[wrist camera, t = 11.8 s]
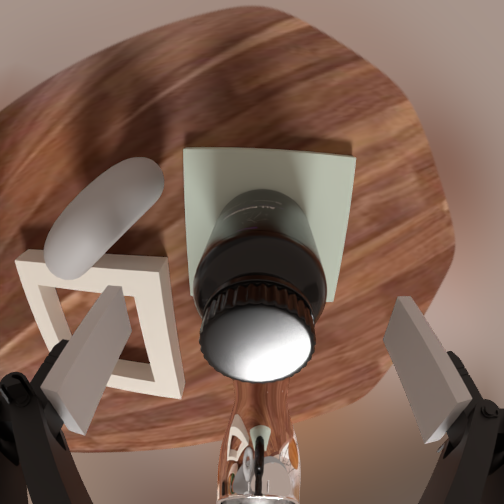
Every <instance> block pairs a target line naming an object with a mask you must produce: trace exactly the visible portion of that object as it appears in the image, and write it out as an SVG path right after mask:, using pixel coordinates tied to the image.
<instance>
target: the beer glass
mask: <svg viewBox="0 0 504 504" xmlns="http://www.w3.org/2000/svg"><path fill="white" fill-rule="evenodd" d="M289 382H290V377H289V378H286V379H284V380H282V381H276V382H274V383H265V384H260V383H255V384H252V383H248V382H241V381H239V380H233V386H234V395H235V397H234V406H233V410H232V413H231V416H230V419H229V422H228V425H227V428H226V432H225V435H224V438H223V442H222V446H221V449H220V455H219V462H218V474H217V475H218V476H217V504H299V494H300V457H299V449H298V444H297V440H296V435H295V432H294V428H293V424H292V421H291V417H290V414H289V410H288V403H287V394H288V388H289Z"/></svg>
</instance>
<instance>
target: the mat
mask: <svg viewBox="0 0 504 504" xmlns="http://www.w3.org/2000/svg"><path fill="white" fill-rule="evenodd" d="M183 162H184V197H185V221H186V239H187V255H188V269H189V282H190V294H191V296H193V281H194V276H195V273H196V269H197V267H198V264H199V262H200V259H201V257H202V254H203V252H204V250H205V247H206V245H207V242H208V240H209V238H210V235H211V233H212V231H213V228H214V226H215V223H216V221H217V219H218V217H219V215H220V213H221V211H222V210H223V208H224V207H225V206H226V205H227V204H228V203H229V202H230V201H231V200H232V199H233V198H235V197H236V196H238V195H240V194H242V193H244V192H247V191H250V190H256V189H269V190H274V191H278V192H281V193H283V194H285V195H287V196H289V197H290V198H292V199H293V200H294V201H295V202H296V203H297V204H298V205H299V206H300V207H301V209H302V210H303V212H304V213H305V215H306V217H307V220H308V222H309V225H310V228H311V231H312V234H313V237H314V240H315V244H316V247H317V250H318V253H319V256H320V260H321V263H322V266H323V269H324V273H325V277H326V283H327V299H326V302H333V300H334V296H335V291H336V286H337V281H338V276H339V270H340V265H341V260H342V254H343V248H344V242H345V237H346V230H347V224H348V218H349V211H350V204H351V197H352V189H353V181H354V173H355V164H356V158H355V157H354V156H350V155H341V154H331V153H321V152H310V151H297V150H282V149H263V148H234V147H186V148H184V149H183Z"/></svg>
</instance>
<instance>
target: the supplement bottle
mask: <svg viewBox="0 0 504 504" xmlns="http://www.w3.org/2000/svg"><path fill="white" fill-rule="evenodd" d="M193 298H194V303H195V306H196V309H197V311H198V313H199V315H200V317H201V318H202V325H201V328H200V338H199V343H200V345H201V348H200V350H201V352H202V353H203V354H204V358H205V359H206V360H207V361H208V363H209V365H210V366H212V367H214V369H215V370H216V371H218V372H220V373H222V374H223V375H224V376H226V377H230V378H231V379H233V380H239V381H241V382H248V383H252V384H255V383H260V384H265V383H274V382H276V381H282V380H284V379H286V378H289V377H292V376H293V375H294V374H295V373H298V372H300V371H301V369H302V368H304V367H305V366H306V365H307V362H308V361H310V360H311V358H312V354H313V353H314V352H315V344H316V337H315V329H314V327H315V324H316V322H317V321H318V319H319V318H320V316H321V314H322V312H323V310H324V307H325V304H326V299H327V283H326V277H325V273H324V269H323V266H322V263H321V260H320V256H319V253H318V250H317V247H316V244H315V240H314V237H313V234H312V231H311V228H310V225H309V222H308V220H307V217H306V215H305V213H304V212H303V210H302V209H301V207H300V206H299V205H298V204H297V203H296V202H295V201H294V200H293V199H292V198H290V197H289V196H287V195H285V194H283V193H281V192H278V191H274V190H269V189H256V190H250V191H247V192H244V193H242V194H240V195H238V196H236V197H235V198H233V199H232V200H231V201H230V202H229V203H228V204H227V205H226V206H225V207H224V208H223V210H222V211H221V213H220V215H219V217H218V219H217V221H216V223H215V226H214V228H213V231H212V233H211V235H210V238H209V240H208V242H207V245H206V247H205V250H204V252H203V254H202V257H201V259H200V262H199V264H198V267H197V269H196V273H195V276H194V281H193Z"/></svg>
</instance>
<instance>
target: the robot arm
mask: <svg viewBox="0 0 504 504" xmlns="http://www.w3.org/2000/svg"><path fill="white" fill-rule="evenodd" d="M131 332H132V330H131V326H130V321H129V317H128V313H127V309H126V304H125V300H124V295H123V290H122V286H111V285H108V286H107V287H106V288H105V290H104V291H103V292H102V294H101V295H100V297H99V298H98V299H97V301H96V302H95V304H94V305H93V306H92V308H91V309H90V311H89V312H88V314H87V315H86V316H85V318H84V319H83V321H82V322H81V324H80V325H79V327H78V328H77V330H76V331H75V333H74V334H73V336H72V337H71V339H70V340H65V339H62V340H61V341H60V342H59V343H57V344H56V345H55V346H54V347H53V348H52V350H51V351H50V353H49V354H48V355H49V356H47V357H46V359H45V360H44V363H42V365H41V367H40V368H39V370H38V371H37V373H36V374H35V376H34V378H33V379H32V381H31V382H30V383H29V381H28V380H27V378H26V376H25V375H23V374H22V373H19V372H12V373H10V374H8V375H6V376H5V377H4V378H3V379H2V380H1V382H0V504H28V497H27V488H28V491H29V494H30V497H31V500H32V503H33V504H93V503H92V501H91V498H90V497H89V494H88V492H87V490H86V488H85V486H84V484H83V481H82V480H81V477H80V475H79V472H78V470H77V468H76V465H75V463H74V460H73V458H72V455H71V453H70V450H69V447H68V445H67V442H66V439H65V436H64V433H63V432H62V430H61V428H62V425H63V423H64V424H65V425H66V427H67V428H68V429H69V431H72V432H76V433H79V434H82V435H86V432H87V430H88V427H89V425H90V422H91V420H92V418H93V415H94V413H95V410H96V408H97V406H98V403H99V401H100V399H101V396H102V394H103V392H104V390H105V387H106V385H107V383H108V381H109V378H110V376H111V374H112V372H113V370H114V367H115V365H116V363H117V361H118V359H119V357H120V355H121V353H122V350H123V348H124V346H125V344H126V342H127V340H128V338H129V336H130V334H131ZM383 341H384V343H385V346H386V348H387V350H388V352H389V355H390V357H391V359H392V362H393V364H394V366H395V369H396V371H397V373H398V376H399V378H400V380H401V383H402V385H403V388H404V390H405V393H406V396H407V398H408V400H409V403H410V406H411V408H412V411H413V414H414V416H415V419H416V421H417V424H418V427H419V430H420V432H421V435H422V438H423V441H424V443H425V444H426V443H429V442H433V441H437V440H440V439H441V437H442V436H443V435H444V434H445V433H446V432H447V434H448V437H449V438H448V439H447V440H446V441H445V442H444V443H443V444H442V446H441V447H440V448H439V449H438V451H437V452H440V451H441V450H442V449H443V450H442V453H441V455H440V457H439V460H438V462H437V465H436V467H435V469H434V472H433V474H432V476H431V478H430V480H429V483H428V485H427V487H426V489H425V491H424V493H423V495H422V497H421V499H420V501H419V503H418V504H504V409H499V408H498V406H497V405H496V404H495V403H494V402H492V401H491V400H487V399H483V398H482V397H481V394H480V393H479V391H478V389H477V387H476V386H475V384H474V382H473V380H472V378H471V377H470V375H468V372H467V370H466V369H465V368H464V365H463V363H462V362H461V360H460V358H459V357H457V356H456V355H455V354H454V353H453V352H452V351H448V352H446V351H445V349H444V347H443V346H442V344H441V342H440V341H439V339H438V338H437V336H436V335H435V333H434V331H433V330H432V328H431V327H430V325H429V323H428V322H427V321H426V319H425V317H424V316H423V314H422V313H421V311H420V310H419V308H418V307H417V305H416V304H415V302H414V301H413V299H412V298H411V296H399V297H397V300H396V303H395V306H394V309H393V312H392V315H391V318H390V321H389V324H388V327H387V330H386V332H385V335H384V338H383ZM26 485H27V486H26Z"/></svg>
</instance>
